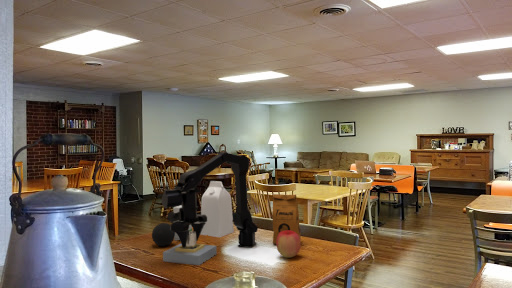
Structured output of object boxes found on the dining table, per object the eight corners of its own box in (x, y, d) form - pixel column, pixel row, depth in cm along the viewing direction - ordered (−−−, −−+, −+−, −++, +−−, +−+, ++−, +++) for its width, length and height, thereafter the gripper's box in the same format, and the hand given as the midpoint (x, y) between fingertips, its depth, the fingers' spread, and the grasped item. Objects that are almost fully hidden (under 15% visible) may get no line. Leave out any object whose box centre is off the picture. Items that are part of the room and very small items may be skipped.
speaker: (170, 241, 177) (169, 220, 177) (178, 246, 169) (177, 223, 168) (149, 245, 172) (148, 223, 172) (156, 250, 163) (155, 227, 163)
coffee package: (297, 248, 161) (296, 196, 161) (270, 245, 166) (268, 195, 165) (303, 242, 170) (302, 193, 170) (277, 240, 175) (275, 192, 175)
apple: (272, 255, 152) (271, 230, 152) (294, 252, 155) (293, 227, 155) (282, 262, 143) (282, 235, 143) (305, 258, 146) (304, 233, 146)
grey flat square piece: (216, 254, 155) (216, 243, 155) (199, 265, 142) (199, 253, 142) (182, 251, 161) (182, 240, 161) (163, 261, 148) (162, 249, 148)
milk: (233, 232, 192) (232, 180, 192) (219, 237, 182) (218, 183, 182) (214, 229, 199) (213, 179, 198) (200, 234, 189) (199, 182, 189)
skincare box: (186, 241, 177) (185, 207, 177) (173, 240, 178) (172, 207, 178) (193, 236, 185) (192, 204, 185) (180, 236, 186) (179, 204, 186)
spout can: (198, 253, 153) (198, 231, 153) (192, 257, 148) (191, 233, 148) (183, 252, 155) (183, 230, 155) (177, 255, 151) (176, 233, 151)
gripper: (184, 200, 163) (185, 236, 163) (157, 208, 145) (159, 248, 145) (207, 201, 159) (208, 238, 159) (183, 209, 141) (184, 251, 141)
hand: (190, 243), depth 151 cm, fingers open, 9 cm apart
